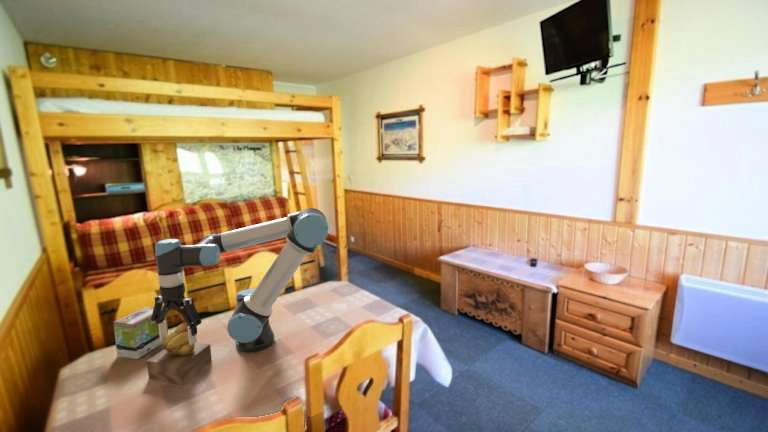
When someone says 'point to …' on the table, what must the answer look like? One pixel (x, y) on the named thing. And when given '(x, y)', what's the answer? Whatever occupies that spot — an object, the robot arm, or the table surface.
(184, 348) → the bread roll
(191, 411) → the table surface
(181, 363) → the walnut block
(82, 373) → the table surface
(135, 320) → the tea box
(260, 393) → the table surface
